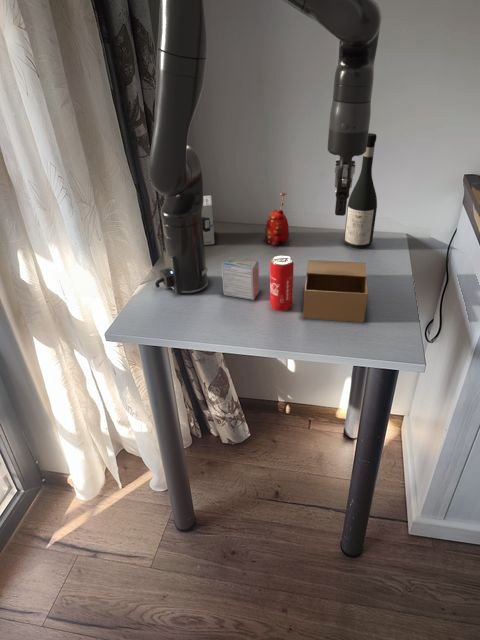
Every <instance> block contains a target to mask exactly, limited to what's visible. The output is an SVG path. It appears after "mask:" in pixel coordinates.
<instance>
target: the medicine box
mask: <svg viewBox="0 0 480 640" xmlns="http://www.w3.org/2000/svg"><path fill="white" fill-rule="evenodd" d="M259 267H260V266H259V261H258V260H255V259H250V258H243V257H235V256H227V258H226V259H225V260H224V261H223V262H222V263H221V274H222V275H221V276H222V288H223V289H222V290H223V295H224V296H226V297H227V296H229V297H234V298H241V299H246V300H252V301H254V300H255V299H256V297H257V296H258V294H259V293H260V271H259V270H260V268H259Z"/></svg>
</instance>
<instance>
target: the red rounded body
mask: <svg viewBox="0 0 480 640" xmlns="http://www.w3.org/2000/svg"><path fill="white" fill-rule="evenodd" d="M286 192H287V189H285V190H284V192H280V197H281V202H280V209H279V210H277V209H274V210H272V212H271V213H270V214H269V217H268V219H267V220H266V225H265V228H264V236H265V239H264V240H265V241H266V242H267V243H268V244H269V245H271V246H275V247H277V246H278V245H284V244H285V243H287V241H288V240H289V237H290V229H289V227H290V226H289V222H288V219H287V217H286V215H285V213H284V210H283V206H284V198H285V195H287V194H288V193H286Z"/></svg>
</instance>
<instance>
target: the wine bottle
mask: <svg viewBox="0 0 480 640" xmlns="http://www.w3.org/2000/svg"><path fill="white" fill-rule="evenodd" d="M376 142H377V134H376V133H372V132H368V140H367V148H366V152H365V153H364V154H362V161H361V169H360V173H359V176H358V179H357V181H356V183H355V185H354V186H353V189H352V191H351V192H350V194H349V197H348V201H347V206H346V219H345V228H344V243H345V245H347V246H348V247H350V248H355V249H365V248H368V247H369V246H371V245H372V243H373V239H374V231H375V224H376V218H377V210H378V209H377V208H378V196H377V193H376V188H375V184H374V180H373V161H374V153H375V146H376Z"/></svg>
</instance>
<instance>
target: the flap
mask: <svg viewBox="0 0 480 640" xmlns="http://www.w3.org/2000/svg"><path fill="white" fill-rule="evenodd" d="M307 274H315V275H333V276H351V277H366V278H367V275H368V273H367V263H366V262H362V261H360V262H359V261H344V260H343V261H341V260H323V259H321V260H320V259H308V260H307V267H306V275H307Z"/></svg>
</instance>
